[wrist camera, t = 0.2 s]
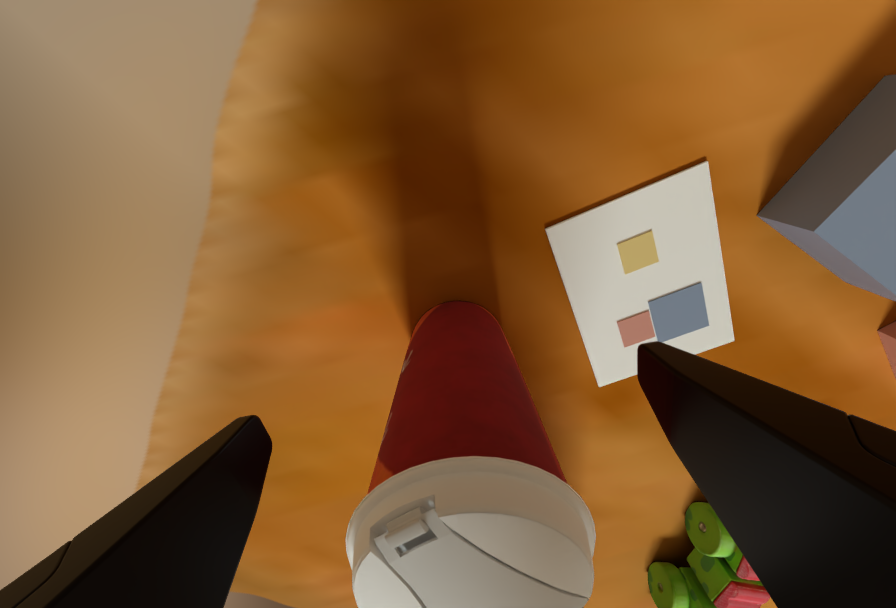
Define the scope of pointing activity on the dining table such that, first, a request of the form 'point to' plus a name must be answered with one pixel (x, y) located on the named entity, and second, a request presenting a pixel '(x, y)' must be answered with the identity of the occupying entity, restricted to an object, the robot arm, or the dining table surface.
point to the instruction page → (646, 272)
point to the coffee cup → (468, 484)
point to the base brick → (848, 197)
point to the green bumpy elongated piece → (707, 569)
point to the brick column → (889, 343)
